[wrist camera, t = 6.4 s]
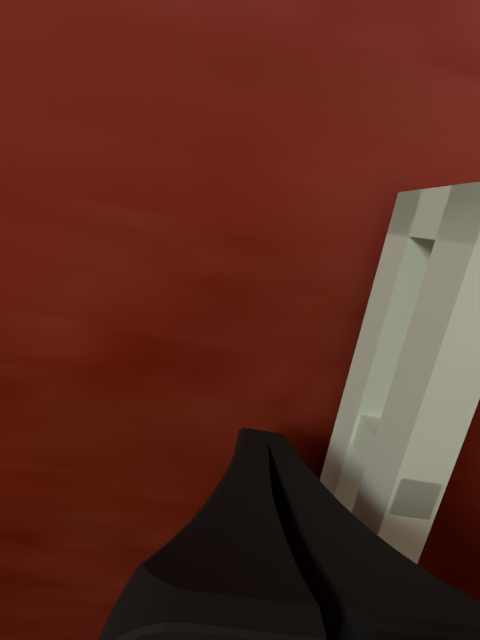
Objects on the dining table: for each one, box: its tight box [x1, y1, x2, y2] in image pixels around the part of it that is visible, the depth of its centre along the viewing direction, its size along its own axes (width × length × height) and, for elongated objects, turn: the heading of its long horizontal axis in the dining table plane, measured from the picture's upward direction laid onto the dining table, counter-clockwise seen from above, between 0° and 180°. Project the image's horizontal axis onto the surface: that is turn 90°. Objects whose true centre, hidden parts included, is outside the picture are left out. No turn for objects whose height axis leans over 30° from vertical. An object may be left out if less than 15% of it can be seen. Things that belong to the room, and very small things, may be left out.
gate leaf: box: [320, 182, 480, 564], centre depth 11 cm, size 14×1×4 cm, turn 170°
